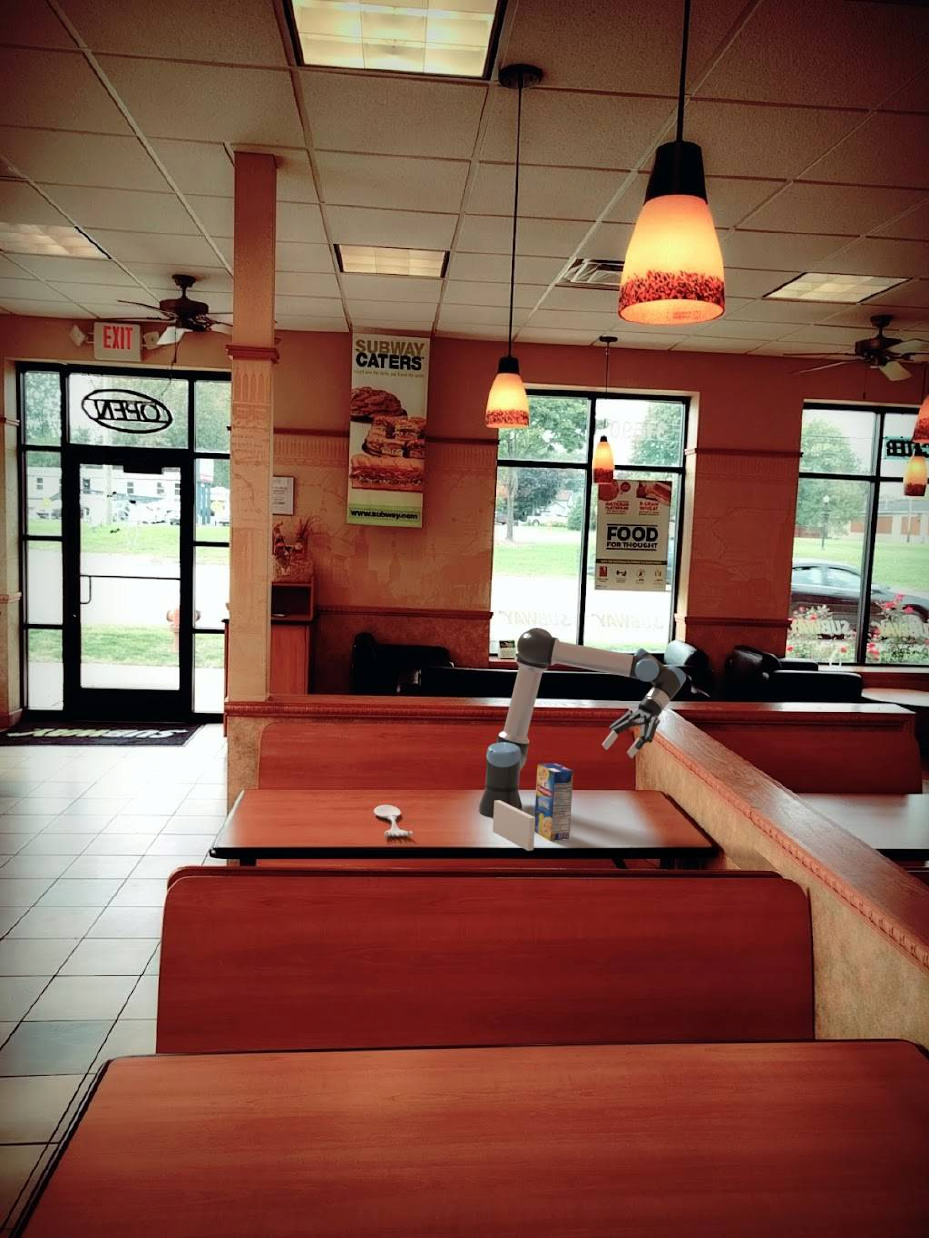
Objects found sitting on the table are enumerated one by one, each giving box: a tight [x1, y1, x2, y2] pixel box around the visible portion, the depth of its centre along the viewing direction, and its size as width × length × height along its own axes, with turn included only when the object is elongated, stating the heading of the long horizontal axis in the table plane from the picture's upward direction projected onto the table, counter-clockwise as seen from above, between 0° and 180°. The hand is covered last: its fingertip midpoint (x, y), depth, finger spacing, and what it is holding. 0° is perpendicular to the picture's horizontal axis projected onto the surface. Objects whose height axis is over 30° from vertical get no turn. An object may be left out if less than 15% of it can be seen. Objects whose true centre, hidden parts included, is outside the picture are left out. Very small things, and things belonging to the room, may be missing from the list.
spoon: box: [373, 804, 413, 838], centre depth 270 cm, size 9×32×4 cm, turn 13°
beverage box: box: [534, 762, 574, 842], centre depth 268 cm, size 7×11×22 cm, turn 25°
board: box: [492, 800, 536, 852], centre depth 261 cm, size 20×2×10 cm, turn 30°
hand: (616, 751), depth 280 cm, fingers open, 12 cm apart
